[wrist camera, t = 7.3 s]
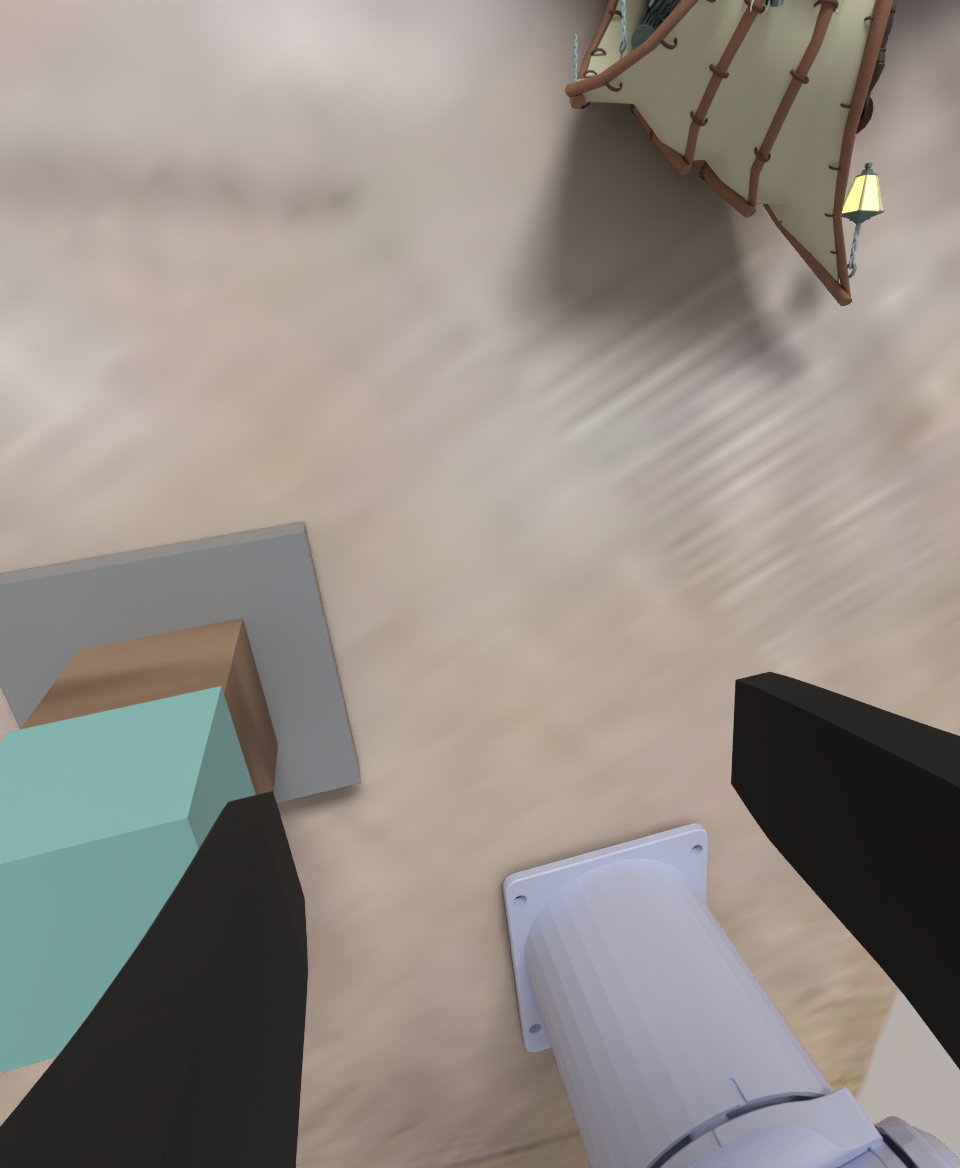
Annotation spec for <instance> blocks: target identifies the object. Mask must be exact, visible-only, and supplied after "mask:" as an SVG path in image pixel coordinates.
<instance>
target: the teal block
mask: <svg viewBox="0 0 960 1168" xmlns="http://www.w3.org/2000/svg"><path fill="white" fill-rule="evenodd" d="M254 795H256V794H255V791H254V787H253V784H252V781H251V778H250V775H249V772H248V769H247V765H246V762H245V759H244V756H243V753H242V750H241V746H240V743H239V740H238V737H237V734H236V731H235V728H234V724H233V721H232V718H231V715H230V712H229V709H228V705H227V702H226V699H225V696H224V693H223V690H222V687H221V686H219V687H215V688H210V689H205V690H201V691H196V692H192V693H187V694H182V695H178V696H173V697H168V698H164V699H159V700H155V701H150V702H145V703H141V704H136V705H132V706H127V707H122V708H118V709H113V710H108V711H104V712H99V713H95V714H90V715H85V716H81V717H76V718H72V719H67V720H62V721H58V722H53V723H48V724H44V725H39V726H35V727H30V728H25V729H21V730H16V731H11V732H9V733H8V734H7V735H6V737H5V738H4V739H3V741H2V742H1V743H0V1070H1V1071H2V1073H3V1072H7V1071H10V1070H13V1069H17V1068H20V1067H24V1066H27V1065H30V1064H34V1063H37V1062H40V1061H44V1060H47V1059H50V1058H54V1057H57V1056H58V1055H59V1054H60V1052H61V1051H62V1050H63V1048H64V1047H65V1046H66V1044H67V1043H68V1042H69V1040H70V1039H71V1038H72V1037H73V1035H74V1034H75V1033H76V1031H77V1030H78V1029H79V1027H80V1026H81V1025H82V1023H83V1022H84V1021H85V1019H86V1018H87V1017H88V1015H89V1014H90V1013H91V1011H92V1010H93V1008H94V1007H95V1006H96V1004H97V1003H98V1001H99V1000H100V998H101V997H102V996H103V994H104V993H105V991H106V990H107V989H108V987H109V986H110V984H111V983H112V981H113V980H114V979H115V977H116V976H117V974H118V973H119V972H120V970H121V969H122V967H123V966H124V965H125V963H126V962H127V960H128V959H129V957H130V956H131V955H132V953H133V952H134V950H135V949H136V947H137V946H138V944H139V943H140V941H141V940H142V938H143V937H144V935H145V934H146V932H147V931H148V929H149V928H150V926H151V925H152V923H153V922H154V920H155V918H156V917H157V915H158V914H159V912H160V911H161V909H162V908H163V906H164V904H165V903H166V901H167V900H168V898H169V897H170V895H171V894H172V892H173V890H174V889H175V887H176V886H177V884H178V883H179V881H180V879H181V878H182V876H183V874H184V873H185V871H186V869H187V868H188V866H189V865H190V863H191V861H192V860H193V858H194V856H195V855H196V853H197V851H198V850H199V848H200V846H201V845H202V843H203V841H204V840H205V838H206V836H207V834H208V833H209V831H210V829H211V828H212V826H213V824H214V823H215V821H216V819H217V818H218V816H219V814H220V813H221V811H222V810H223V808H224V807H225V805H226V804H227V803H228V802H229V801H233V800H237V799H241V798H246V797H250V796H254Z"/></svg>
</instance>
